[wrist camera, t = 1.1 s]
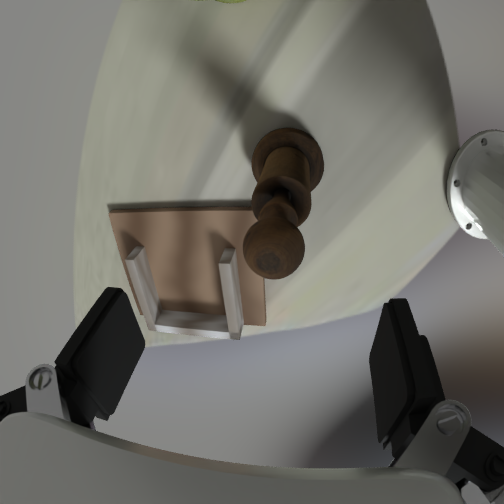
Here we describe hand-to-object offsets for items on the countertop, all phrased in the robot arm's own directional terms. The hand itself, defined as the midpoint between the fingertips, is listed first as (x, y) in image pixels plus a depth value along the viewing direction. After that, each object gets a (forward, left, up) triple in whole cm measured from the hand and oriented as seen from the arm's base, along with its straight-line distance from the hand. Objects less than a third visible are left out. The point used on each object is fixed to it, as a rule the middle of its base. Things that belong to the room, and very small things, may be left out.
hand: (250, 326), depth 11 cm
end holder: (+12, +13, -22) cm, 28 cm away
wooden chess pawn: (0, 0, -22) cm, 22 cm away
